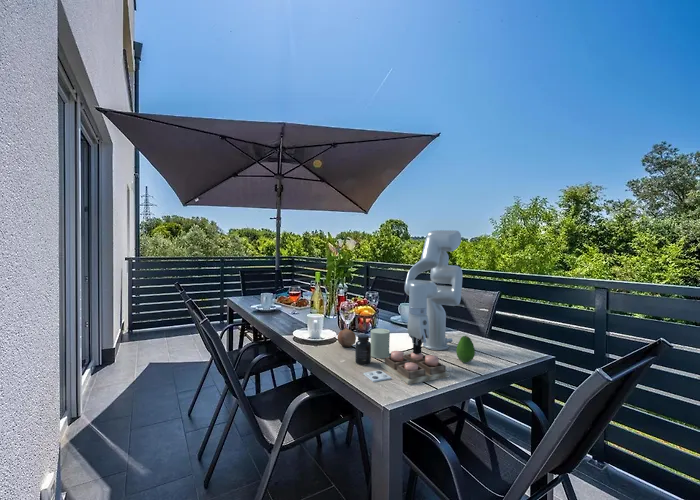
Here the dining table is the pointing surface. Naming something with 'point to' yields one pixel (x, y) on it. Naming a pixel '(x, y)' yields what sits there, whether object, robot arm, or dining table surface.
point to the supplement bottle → (363, 350)
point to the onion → (346, 338)
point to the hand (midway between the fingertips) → (417, 353)
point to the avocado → (465, 349)
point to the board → (415, 376)
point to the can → (380, 343)
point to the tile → (377, 375)
